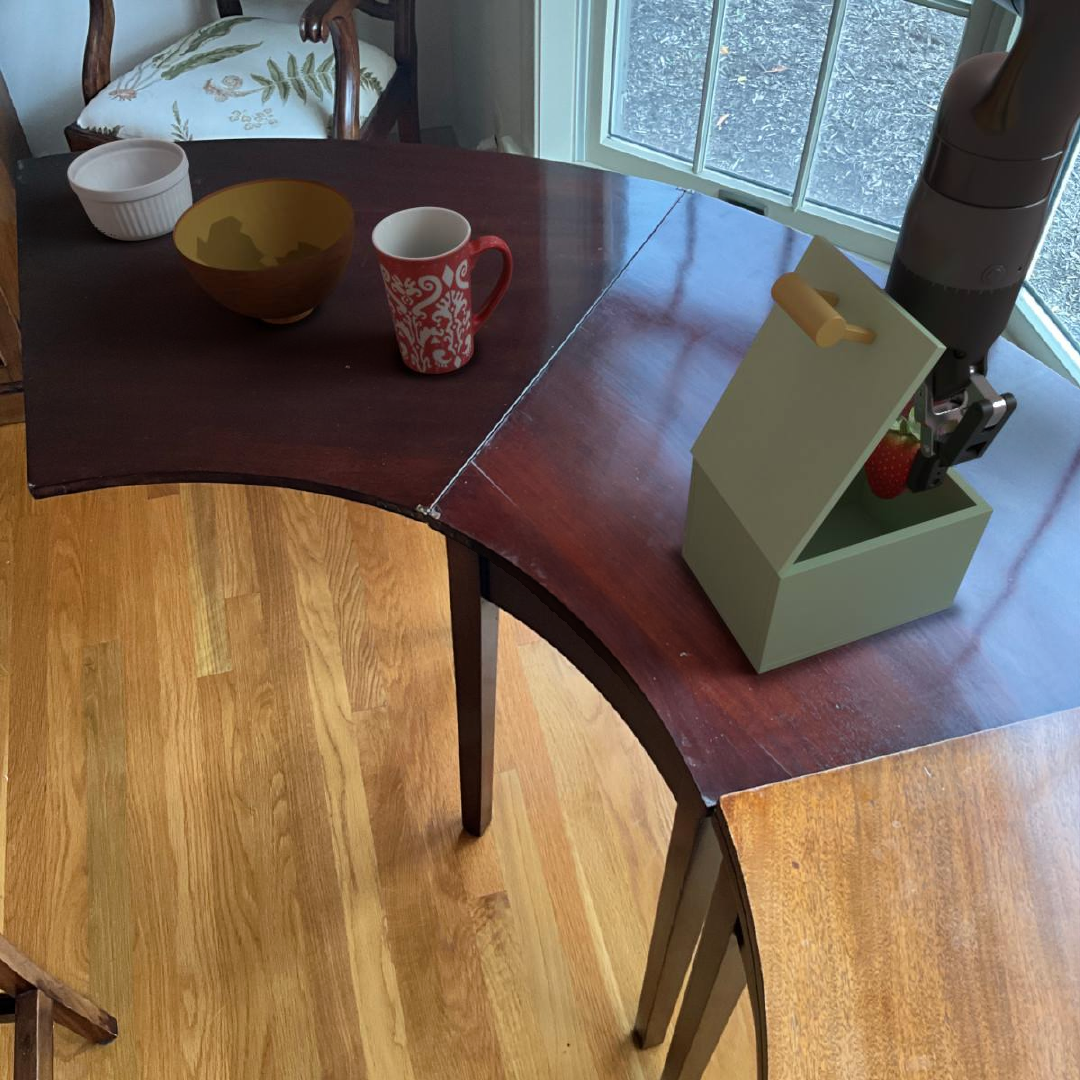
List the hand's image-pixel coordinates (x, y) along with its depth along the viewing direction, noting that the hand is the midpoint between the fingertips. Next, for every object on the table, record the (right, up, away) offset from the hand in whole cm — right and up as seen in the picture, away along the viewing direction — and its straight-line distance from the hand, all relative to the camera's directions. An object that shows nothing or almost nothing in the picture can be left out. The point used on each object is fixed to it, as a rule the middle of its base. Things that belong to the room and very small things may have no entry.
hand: (896, 459), depth 71 cm
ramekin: (-73, +33, +48) cm, 93 cm away
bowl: (-52, +19, +35) cm, 66 cm away
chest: (-4, -9, +7) cm, 12 cm away
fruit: (0, -3, +3) cm, 4 cm away
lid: (-9, +3, -8) cm, 12 cm away
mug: (-34, +13, +29) cm, 46 cm away
